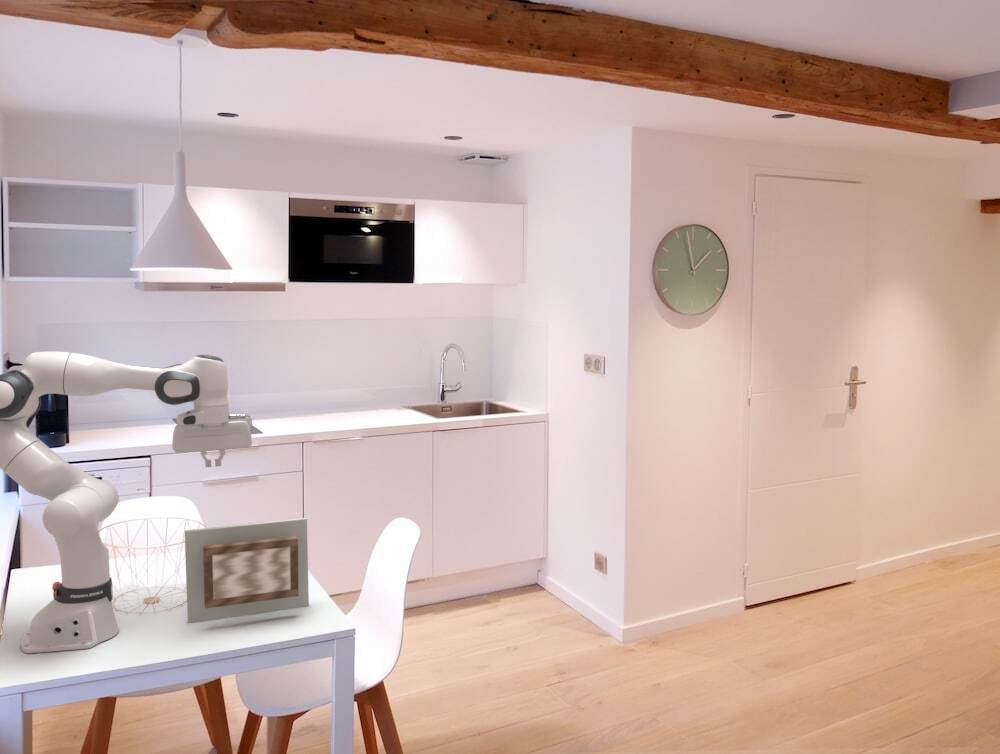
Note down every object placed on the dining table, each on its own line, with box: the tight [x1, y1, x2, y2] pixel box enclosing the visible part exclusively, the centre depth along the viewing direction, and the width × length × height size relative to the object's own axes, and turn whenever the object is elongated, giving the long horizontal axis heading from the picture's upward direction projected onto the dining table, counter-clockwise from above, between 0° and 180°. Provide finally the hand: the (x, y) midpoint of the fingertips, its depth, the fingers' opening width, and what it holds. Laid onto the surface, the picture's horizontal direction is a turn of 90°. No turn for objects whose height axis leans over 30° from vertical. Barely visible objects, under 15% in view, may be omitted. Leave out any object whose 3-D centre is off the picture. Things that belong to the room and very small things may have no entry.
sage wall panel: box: [184, 517, 310, 624], centre depth 235 cm, size 32×6×25 cm, turn 114°
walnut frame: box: [203, 536, 299, 608], centre depth 231 cm, size 24×2×16 cm, turn 114°
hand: (213, 466), depth 234 cm, fingers closed
